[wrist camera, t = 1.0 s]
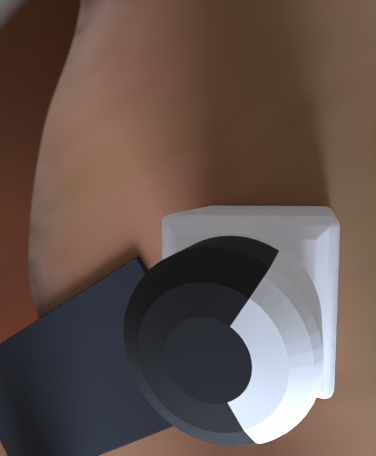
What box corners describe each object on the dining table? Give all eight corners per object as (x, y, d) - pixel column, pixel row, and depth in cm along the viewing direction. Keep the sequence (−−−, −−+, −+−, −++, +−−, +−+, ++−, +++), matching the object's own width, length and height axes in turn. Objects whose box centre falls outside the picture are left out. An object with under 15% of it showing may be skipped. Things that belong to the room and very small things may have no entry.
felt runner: (223, 403, 23) (222, 407, 22) (26, 481, 30) (22, 485, 29) (138, 256, 24) (136, 257, 23) (-34, 365, 31) (-38, 367, 30)
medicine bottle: (207, 317, 23) (100, 449, 11) (206, 205, 22) (89, 227, 10) (328, 331, 20) (343, 516, 9) (332, 205, 19) (355, 235, 8)
